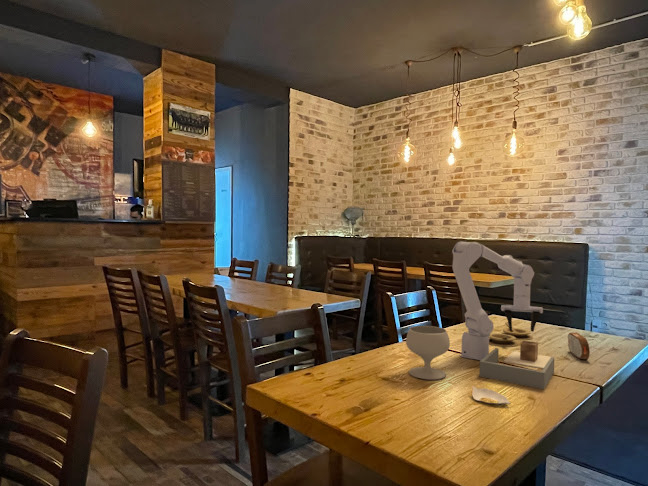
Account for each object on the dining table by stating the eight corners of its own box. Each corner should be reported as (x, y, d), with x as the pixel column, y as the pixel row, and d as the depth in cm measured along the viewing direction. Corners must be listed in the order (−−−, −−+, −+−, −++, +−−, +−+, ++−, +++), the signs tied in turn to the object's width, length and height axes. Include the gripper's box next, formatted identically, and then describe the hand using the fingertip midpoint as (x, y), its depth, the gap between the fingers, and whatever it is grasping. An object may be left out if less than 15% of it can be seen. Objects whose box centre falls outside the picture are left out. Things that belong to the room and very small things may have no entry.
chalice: (402, 378, 137) (403, 332, 136) (409, 365, 150) (409, 323, 149) (447, 384, 132) (448, 336, 131) (450, 370, 145) (451, 326, 144)
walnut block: (520, 359, 157) (520, 343, 157) (523, 356, 161) (523, 340, 161) (535, 362, 154) (535, 345, 154) (537, 358, 158) (537, 342, 158)
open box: (479, 376, 139) (479, 361, 139) (495, 361, 155) (495, 348, 155) (544, 389, 128) (544, 372, 128) (554, 371, 144) (554, 357, 144)
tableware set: (518, 352, 170) (518, 337, 170) (471, 343, 184) (472, 329, 184) (544, 339, 191) (544, 326, 191) (500, 332, 205) (500, 319, 205)
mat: (503, 361, 155) (503, 360, 155) (513, 352, 168) (513, 351, 168) (546, 369, 147) (546, 368, 147) (553, 358, 160) (553, 357, 160)
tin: (590, 362, 155) (590, 339, 155) (580, 361, 156) (581, 339, 156) (574, 351, 170) (575, 330, 170) (566, 350, 171) (566, 329, 170)
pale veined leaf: (478, 389, 126) (478, 381, 126) (517, 405, 117) (518, 396, 117) (463, 397, 122) (463, 389, 121) (502, 415, 112) (503, 405, 112)
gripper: (502, 295, 162) (502, 331, 163) (544, 297, 158) (544, 334, 158) (500, 293, 169) (500, 327, 169) (541, 295, 165) (540, 329, 165)
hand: (521, 330), depth 164 cm, fingers open, 7 cm apart
